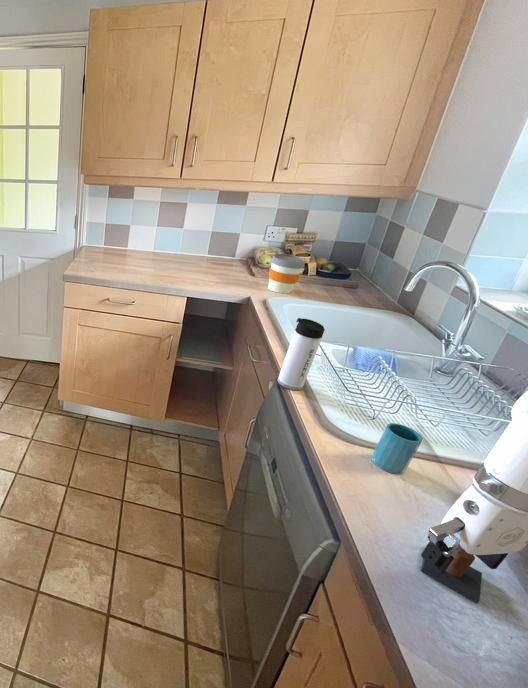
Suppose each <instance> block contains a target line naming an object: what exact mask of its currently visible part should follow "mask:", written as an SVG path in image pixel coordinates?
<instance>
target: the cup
mask: <svg viewBox="0 0 528 688" xmlns="http://www.w3.org/2000/svg"><path fill="white" fill-rule="evenodd" d="M422 443H423V437H422V435H421V434H420V433H418V431H416V430H414V429H413V428H411V427H409V426H407V425H404V424H400V423H396V422H394V423H393V422H391V423H388V424H387V425H386V427H385V428H384V430H383V433H382V434H381V436H380V437H379V440H378V442H377V444H376V446H375V448H374V450H373V451H372V454H371V456H370V459H371V462H372V463H373V464H374V465H375V466H377V467H378V468H379V469H381V470H383V471H385V472H388V473H389V474H390V473H391V474H394V475H402V474H404V473H405V472H406V471H407V469H408V467H409V465H410V464H411V461H412V460H413V458H414V456H415V455H416V453H417V452H418V449H419V448H420V446H421V444H422Z"/></svg>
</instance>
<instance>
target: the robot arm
mask: <svg viewBox="0 0 528 688" xmlns="http://www.w3.org/2000/svg"><path fill="white" fill-rule="evenodd" d="M510 416H511V421H510V422H509V424H508V425H507V427H506V428H505V429H504V431H503V432H502V434H501V436H500V437H499V439H498V440H497V441H496V443H495V445H494V446H493V447H492V448H491V451H490V452H489V453H488V455H487V456H486V457H485V459H484V461H483V462H482V464H481V465H480V466H479V469H478V470H477V471H476V472H475V474H474V475H473V477H472V482H473V483H472V484H471V485H470V486H469V487H468V488H467V489H466V490H465V491H464V492H463V493H462V494H461V495H460V496H459V497H458V498H457V500H456V501H455V502H454V503H453V504H452V506H451V507H450V508H449V510H448V511H447V512H446V514H445V515H444V517H443V518H442V520H441V523H439V524H438V525H434V526H432V527H430V528H428V535H427V539H428V543H427V544H428V545H426V546H425V548H424V549H423V550H422V552H421V554H420V556H421V558H422V560H423V559H424V560H426V561H427V562H428V563H429V564H430V565H431V566H432V567H433V568H434V569H435V570H436V571H437V572H438V573H444V572H445V570H446V569H447V568H448V566H449V565H450V564H451V562H452V561H453V559H454V557H453V556H452V555H453V554H455V553H457V552H458V551H460V550H462V549H464V550H465V551H466V552H467V553H469V554H473V555H474V556H475V557H476V558H477V559H478V560H480V561H481V562H482V563H483V564H484V565H485V566H487V567H488V568H489V569H491V570H497V569H498V567H499V566H500V565H501V564H502V563H503V562H504V560H505V559H506V558H507V556H509V554H512V553H518V552H521V551H523V550H524V548H525V547H526V546H527V544H528V390H526V391H525V392H524V393H522V395H520V397H519V398H518V399H517V400H516V401H515V402H514V403H513V405H512V407H511V410H510ZM454 534H458V535H459V538H458V537H457V536H455V535H454ZM447 537H449V538H450V539H451V540H452V541H453V542H455V543H453V544H452V545H450V546H448V545H447V543H446V542H444V541H445V539H446V538H447Z"/></svg>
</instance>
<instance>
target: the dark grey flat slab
mask: <svg viewBox="0 0 528 688" xmlns="http://www.w3.org/2000/svg"><path fill="white" fill-rule="evenodd" d="M427 545H428V543H427ZM427 545H426V546H427ZM452 556H453V557H454V559H453V561H452V562H451V564H450V565H449V566H448V568H447V569H446V570H445V572H444V573H438V572H437V571H436V570H435V569H434V568H433V567H432V566H431V565H430V564H429V563H428V562H427V561H426V560H424V559H423V558H422V563H421V566H420V572H421V573H424V574H425V575H427V576H429V577H430V578H431V579H434V580H435V581H437V582H438V583H441V584H442V585H444V586H445V587H447V588H449V589H451V590H452V591H454V592H456V593H458V594H459V595H461V596H463V597H464V598H466V599H468V600H470V601H472V602H473V603H475V604H479V602H480V601H481V599H480V598H481V589H482V578H483V577H482V576H483V572H481V571H480V570H478V569H476V568H474V567H472V566H471V565H472V564H473V563H474V561H476V556H475V555H473V554H469V553H467V552H466V551H465V550H464V549H462V550H460V551H458V552H457V553H455V554H453V555H452Z"/></svg>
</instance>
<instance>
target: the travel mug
mask: <svg viewBox="0 0 528 688" xmlns="http://www.w3.org/2000/svg"><path fill="white" fill-rule="evenodd" d="M296 323H297V325H296V327H295V329H294V332H293V333H292V334H293V335H292V336H291V340H290V343H289V346H288V348H287V351H286V354H285V357H284V359H283V363H282V365H281V369H280V372H279V374H278V377H277V383H278V384H279V385H280V386H281V387H282V388H285V389H288V390H291V391H301V390H302V389H303V388H304V385H305V384H306V383H305V382H306V381H307V377H308V375H309V373H310V370H311V368H312V364H313V362H314V360H315V357H316V355H317V352H318V349H319V347H320V345H321V341H322V339H323V335H324V333H325V330H326V329H325V327H324V325H323V324H321V323H320V322H317V321H315V320H312V319H310V318H302V317H297V319H296Z"/></svg>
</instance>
